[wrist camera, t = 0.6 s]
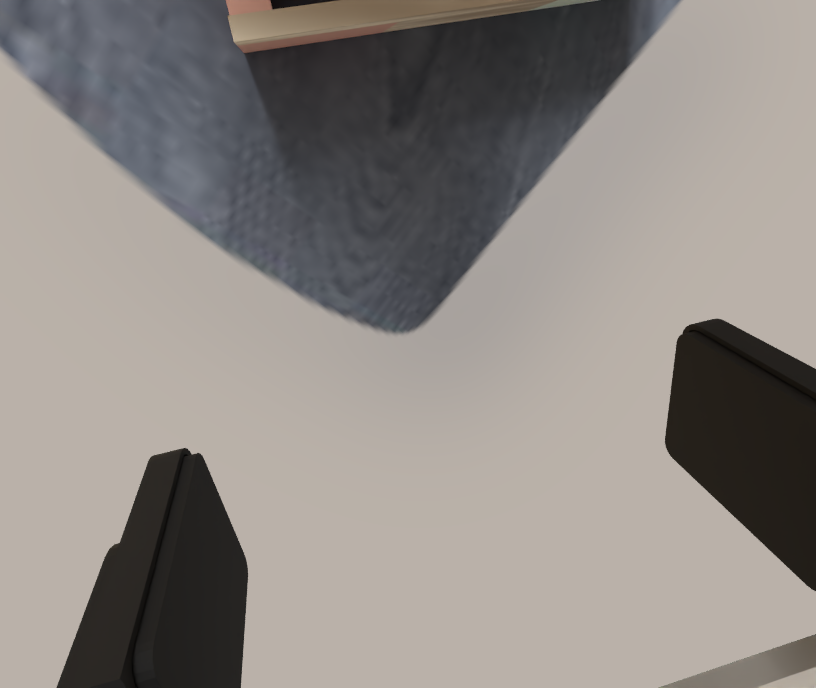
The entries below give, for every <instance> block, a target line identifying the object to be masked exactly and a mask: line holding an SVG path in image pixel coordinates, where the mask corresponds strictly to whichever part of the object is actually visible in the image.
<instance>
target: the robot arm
mask: <svg viewBox="0 0 816 688" xmlns="http://www.w3.org/2000/svg"><path fill="white" fill-rule="evenodd" d="M665 444H666V448H667V450H668V452H669V454H670V456H671V457H672V458H673V459H674V460H675V461H676V462H677V463H678V464H679V465H680V466H682V467H683V468H684V469H685V470H686V471H687V472H688V473H689V474H690V475H691V476H692V477H693V478H694V479H695V480H696V481H697V482H698V483H699V484H701V486H703V487H704V488H705V489H706V490H707V491H708V492H709V493H710V494H711V495H712V496H713V497H714V498H715V499H716V500H717V501H718V502H719V503H721V504H722V505H723V506H724V507H725V508H726V509H727V510H728V511H729V512H730V513H731V514H732V515H733V516H734V517H735V518H736V519H738V521H740V522H741V523H742V524H743V525H744V526H745V527H746V528H747V529H748V530H749V531H751V533H752V534H753V535H754V536H755V537H757V538H758V539H759V540H760V541H761V542H762V543H763V544H764V545H765V546H766V547H767V548H768V549H769V550H770V551H771V552H772V553H773V554H774V555H776V556H777V557H778V558H779V559H780V560H781V561H782V562H783V563H784V564H785V565H786V566H787V567H788V568H789V569H790V570H792V572H793V573H795V574H796V575H797V576H798V577H799V578H800V579H801V580H802V581H803V582H804V583H805V584H806V585H807V586H809V587H810V588H811V589H813V590H815V591H816V369H815V368H813V367H811V366H809V365H807V364H805V363H803V362H801V361H799V360H798V359H795V358H794V357H792V356H790V355H788V354H786V353H784V352H782V351H781V350H778V349H777V348H775V347H773V346H771V345H769V344H767V343H765V342H764V341H762V340H760V339H758V338H756V337H754V336H752V335H750V334H748V333H746V332H744V331H742V330H741V329H739V328H737V327H735V326H733V325H731V324H729V323H727V322H725V321H724V320H721V319H712V320H707V321H703V322H699V323H695V324H691V325H689V326H687V327H686V328H685V329H684V331H683V334H682V335H680V336H679V338H678V340H677V345H676V354H675V362H674V370H673V378H672V386H671V395H670V403H669V411H668V419H667V428H666V436H665ZM247 583H248V568H247V562H246V558H245V555H244V552H243V550H242V548H241V545H240V543H239V541H238V538H237V536H236V534H235V531H234V529H233V527H232V524H231V522H230V519H229V517H228V515H227V512H226V510H225V508H224V505H223V503H222V501H221V498H220V496H219V493H218V491H217V489H216V486H215V484H214V482H213V479H212V477H211V475H210V472H209V470H208V467H207V465H206V463H205V460H204V458H203V456H202V455H201V454H199V453H197V454H193V455H191V453H190V451H189V450H188V449H186V448H183V449H179V450H174V451H170V452H167V453H162V454H158V455H154V456H152V457H151V458H150V459H149V461H148V464H147V467H146V470H145V473H144V476H143V478H142V481H141V484H140V487H139V490H138V493H137V495H136V498H135V501H134V504H133V507H132V510H131V513H130V516H129V518H128V521H127V524H126V527H125V530H124V533H123V535H122V538H121V541H120V543H118V544H115V545H114V546H112V547H111V548H110V549H109V551H108V553H107V555H106V557H105V559H104V561H103V564H102V567H101V569H100V572H99V575H98V578H97V580H96V583H95V586H94V588H93V591H92V594H91V596H90V599H89V602H88V604H87V607H86V610H85V612H84V615H83V618H82V621H81V623H80V626H79V629H78V631H77V634H76V637H75V639H74V642H73V645H72V647H71V650H70V653H69V656H68V658H67V661H66V664H65V666H64V669H63V672H62V674H61V677H60V680H59V682H58V686H57V688H241V674H242V660H243V644H244V628H245V613H246V597H247ZM659 688H816V634H815V635H812V636H810V637H806V638H803V639H800V640H797V641H795V642H791V643H789V644H786V645H783V646H780V647H777V648H774V649H771V650H768V651H765V652H762V653H759V654H756V655H753V656H750V657H747V658H744V659H741V660H738V661H736V662H733V663H730V664H727V665H724V666H721V667H718V668H715V669H712V670H709V671H706V672H703V673H700V674H697V675H695V676H692V677H689V678H686V679H683V680H680V681H677V682H674V683H671V684H668V685H665V686H663V687H659Z"/></svg>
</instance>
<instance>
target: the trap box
mask: <svg viewBox="0 0 816 688" xmlns="http://www.w3.org/2000/svg"><path fill="white" fill-rule="evenodd" d="M592 1H599V0H338V1H330V2H323V3H316V4H309V5H302V6H294V7H287V8H280V9H273V10H272V6H271V1H270V0H226V3H227V7H228V11H229V15H230V16H228V20H229V24H230V28H231V32H232V36H233V40H234V42H235V44H236V45H237V46H238V47H239V48H240V49H241V50H242V51H243V53H249V52H256V51H263V50H269V49H276V48H283V47H289V46H296V45H303V44H310V43H316V42H323V41H330V40H337V39H343V38H350V37H357V36H363V35H370V34H377V33H384V32H390V31H397V30H404V29H410V28H417V27H424V26H431V25H437V24H444V23H451V22H458V21H464V20H471V19H478V18H484V17H491V16H498V15H505V14H511V13H518V12H525V11H531V10H538V9H545V8H552V7H558V6H565V5H572V4H579V3H585V2H592Z"/></svg>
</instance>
